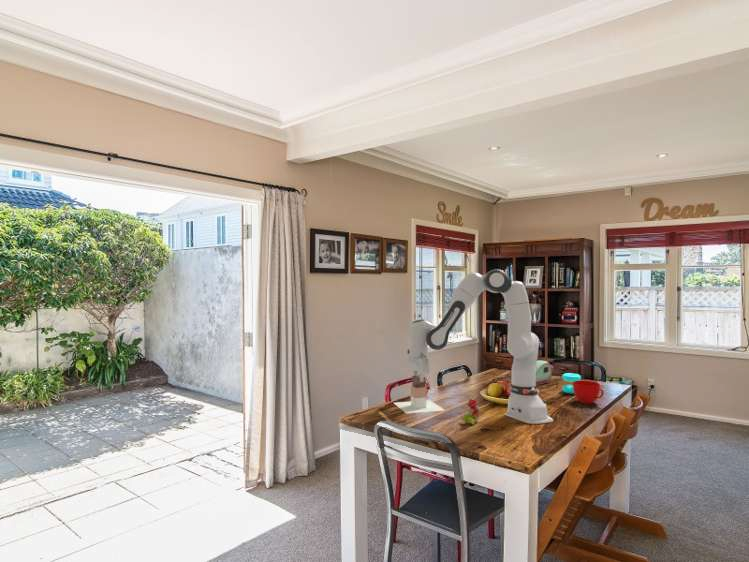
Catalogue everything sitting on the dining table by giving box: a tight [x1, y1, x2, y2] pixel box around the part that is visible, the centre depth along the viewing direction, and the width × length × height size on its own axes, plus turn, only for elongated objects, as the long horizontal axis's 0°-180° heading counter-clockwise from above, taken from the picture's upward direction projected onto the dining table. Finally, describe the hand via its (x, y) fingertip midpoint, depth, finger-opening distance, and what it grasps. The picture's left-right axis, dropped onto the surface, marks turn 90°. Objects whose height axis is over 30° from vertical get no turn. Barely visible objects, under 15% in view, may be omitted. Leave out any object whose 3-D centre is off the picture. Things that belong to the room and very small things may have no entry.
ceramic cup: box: [572, 380, 604, 405], centre depth 250 cm, size 13×17×10 cm
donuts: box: [561, 372, 582, 395], centre depth 274 cm, size 10×10×10 cm
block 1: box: [410, 384, 427, 399], centre depth 238 cm, size 6×6×5 cm
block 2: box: [410, 395, 427, 408], centre depth 238 cm, size 6×6×5 cm
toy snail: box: [536, 359, 554, 386], centre depth 298 cm, size 25×8×14 cm, turn 127°
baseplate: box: [393, 399, 446, 415], centre depth 238 cm, size 20×20×1 cm
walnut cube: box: [411, 374, 426, 388], centre depth 238 cm, size 5×5×5 cm
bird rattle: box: [461, 398, 482, 426], centre depth 216 cm, size 6×11×9 cm
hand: (418, 380), depth 238 cm, fingers open, 5 cm apart
